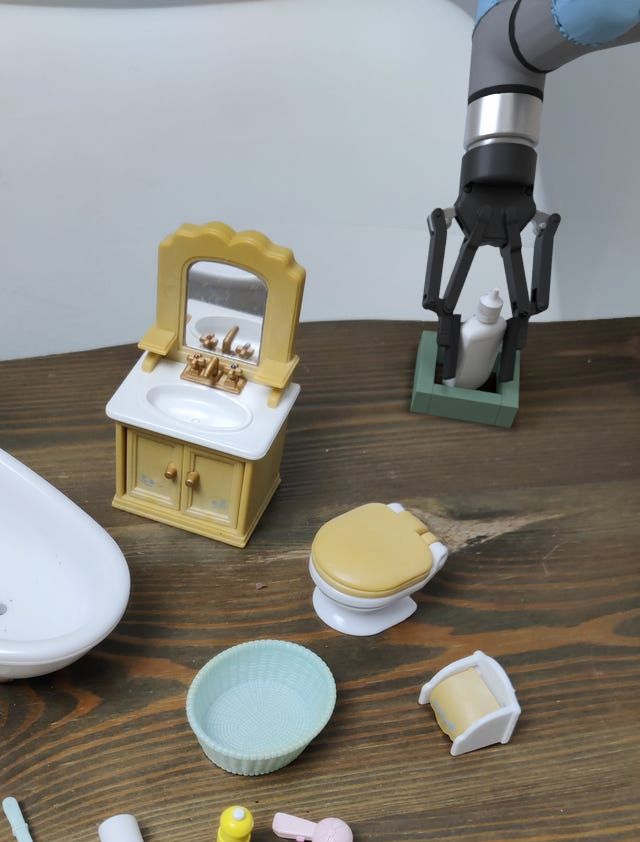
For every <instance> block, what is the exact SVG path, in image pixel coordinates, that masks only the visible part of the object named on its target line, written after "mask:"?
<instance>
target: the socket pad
mask: <svg viewBox="0 0 640 842" xmlns="http://www.w3.org/2000/svg"><path fill="white" fill-rule="evenodd" d="M436 338H437V331H433V330H425V329H423V331H422V334H421V338H420V341H419V344H418V348H417V355H416V362H415V369H414V379H413V387H412V394H411V401H410V402H411V403H410V410H409V411H410V412H411V413H418V414H423V415H428V416H429V415H430V416H436V417H442V418H449V419H454V420H460V421H466V422H471V423H478V424H483V425H484V424H485V425H490V426H497V427H503V428H508V429H510V428H512V426H513V423H514V420H515V418H516V415H517V413H518V410H519V404H520V373H521V372H520V367H521V350H516V360H515V370H514V379H513V380H512V381H509V382H506V383H502V382H499V372H500V362H501V352H502V343H501V346H500V349H499V351H498V354H497V357H496V360H495V363H494V365H493V368H492V371H491V373H496V377H495V378H496V379H495V393H494V392H489V391H482V390H477V389H474V390H470V389H464V388H458V387H452V386H445V385H443V384H438V383H435V376H436V366H437V365H436V364H441V365H443V362H444V352H445V347H438V346H437V343H436Z"/></svg>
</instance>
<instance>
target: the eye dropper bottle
mask: <svg viewBox="0 0 640 842" xmlns="http://www.w3.org/2000/svg"><path fill="white" fill-rule="evenodd" d="M499 295H500V288H499V287H497V286H493V287H492V288H491V290H490V291H489V293H486V294H483V295H482V296H480V298H479V301H478V304H477V307H476V310H475V313H474V314H473V315H471V316H470V317H469V318H467V319H466V320H465V321H464V322H463V323H461V324H460V335H459V345H458V355H457V366H456V376H455V378H453V379H450V380H442V379H441V383H442V385H445V386H452V387H458V388H464V389H470V390H477V389H478V388H480V387H482V386H483V385H484V384H485V383H487V381H488V380H489V378H490V376H491V374H492V372H491V371H492V368H493V365H494V363H495V360H496V357H497V354H498V351H499V349H500V346H501V343H502V342H503V337H504V334H505V331H506V328H507V322H506V321H505V320H506V319H505V318H504V317H503V316H502V315H501V312H502V309H503V306H504V300H503V299H502V297H500V296H499Z"/></svg>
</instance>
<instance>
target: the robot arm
mask: <svg viewBox="0 0 640 842" xmlns="http://www.w3.org/2000/svg"><path fill="white" fill-rule="evenodd" d="M635 43H640V0H478V1H477V7H476V14H475V22H474V27H473V29H472V34H471V51H470V65H469V77H468V90H467V106H466V116H465V124H464V125H465V126H464V133H463V134H464V136H463V144H462V147H463V150H464V151H465V153H464V154H463V155H462V158H461V164H460V174H459V186H458V195H457V198H456V200H455V202H454V203H453V205H452V206H449V207H446V208H442V207H436V208H433V210H432V211H431V212H430V213H429V215H428V216H427V218H426V223H427V228H428V232H429V238H430V239H429V246H428V252H427V261H426V267H425V268H426V269H425V277H424V283H423V294H422V301H421V306H422V308H423V309H424V310H426V311H428V310H429V311H430V312H433V313H435V314H436V316H437V329H436V332H437V338H436V343H437V346H438V347H445V352H444V362H443V364H442V372H441V373H442V375H441V381H442V380H450V379H453V378H455V376H456V366H457V355H458V345H459V335H460V327H461V325H462V313H454V311H455V309H456V307H457V304H458V302H459V299H460V296H461V293H462V290H463V288H464V285H465V283H466V281H467V278H468V275H469V272H470V270H471V267H472V265H473V262H474V259H475V256H476V253H477V251H478V250H479V248H480V247H485V246H490V247H493V248H498V250H499V254H500V257H501V258H502V262H503V269H504V274H505V281H506V287H507V292H508V297H509V298H508V299H509V305H510V309H511V316H510V317H509V318H507V319H505V321H506V322H507V328H506V331H505V334H504V337H503V340H502V352H501V362H500V372H499V382H502V383H506V382H509V381H512V380H513V379H514V370H515V360H516V350H520V351H522V350H524V349H525V348H526V345H527V339H528V330H529V321H530V319H531V317H533V316H536V315H540V314H541V313H543V312H545V311H547V310H548V309H549V306H550V295H551V282H552V268H553V256H554V255H553V254H554V243H555V242H554V241H555V236H556V233H557V231H558V228H559V226H560V223H561V220H562V216H561V215H560V214H559V213H558V212H554V213H552V214H548V213H546V212H544V211H542V210H539V209H538V207H537V204H536V202H535V199H534V191H535V183H536V172H537V163H538V152H537V151H536V150H535V149H536V148H537V147H538V145H539V144H540V137H541V125H542V113H543V104H544V98H545V97H544V95H545V94H544V93H545V85H546V79H547V75H548V74H549V73H553V72H554V71H556V70H558V69H560V68H561V67H563V66H565V65H567V64H569V63H570V62H572V61H574V60H577V59H579V58H580V57H582V56H585V55H588V54H590V53H594V52H598V51H603V50H607V49H612V48H617V47H621V46H622V47H623V46H626V45H627V46H628V45H631V44H635ZM453 219H454V220H455V222H456V223H457V225H458V227H459V228H460V230H461V232H462V234H463V235H464V237H463V239H462V241H461V245H460V248H459V250H458V255H457V258H456V260H455V263H454V266H453V268H452V271H451V274H450V277H449V279H448V283H447V285H446V288H445V290H444V293H443V295H442V297H440V292H441V285H442V278H443V271H444V264H445V262H444V261H445V253H446V246H447V240H448V230H449V229H450V228H451V227H452V225H453V224H452V223H453ZM529 223H531V224H532V226H533V227H532V232H533V234H534V235H535V239H534V243H533V252H532V253H533V254H532V269H531V283H530V294H529V289H528V283H527V276H526V269H525V263H524V257H523V253H522V248H523V242H522V241H523V240H522V236H521V233H522V232H523V231H524V229H525V228H526V227H527V226H528V225H529Z"/></svg>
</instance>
